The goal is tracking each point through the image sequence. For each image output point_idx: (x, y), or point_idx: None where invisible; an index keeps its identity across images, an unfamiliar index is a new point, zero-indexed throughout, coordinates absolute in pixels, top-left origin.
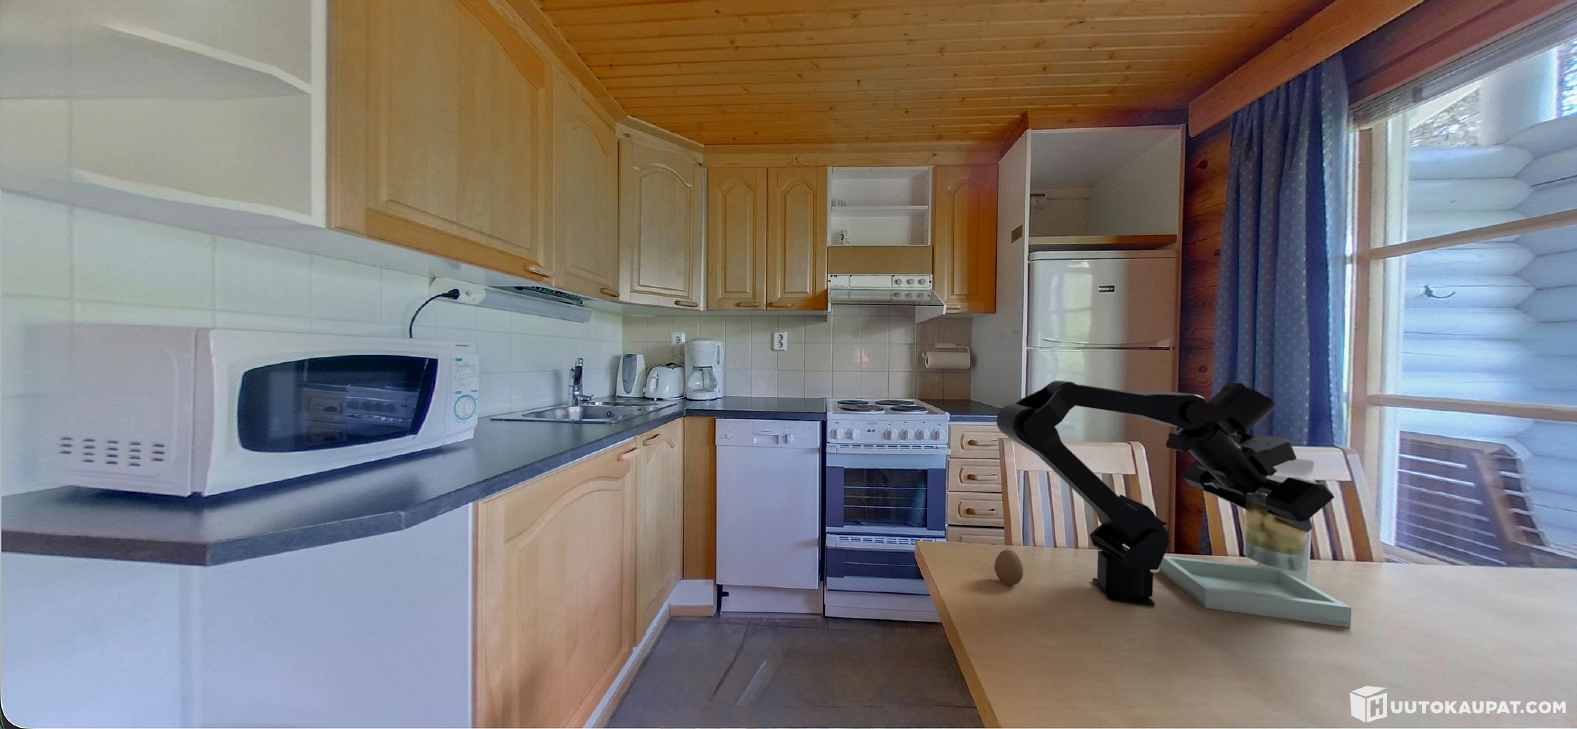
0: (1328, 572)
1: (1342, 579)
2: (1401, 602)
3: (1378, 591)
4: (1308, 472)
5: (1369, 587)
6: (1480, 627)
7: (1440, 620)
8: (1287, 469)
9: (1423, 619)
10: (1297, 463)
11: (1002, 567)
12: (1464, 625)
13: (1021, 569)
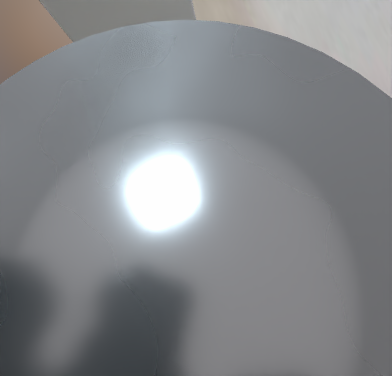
0: (196, 10)
1: (218, 18)
2: (296, 22)
3: (262, 12)
4: None
5: (249, 9)
6: (380, 3)
7: (352, 37)
8: None
9: (344, 60)
10: None
11: None
12: (371, 20)
13: None
